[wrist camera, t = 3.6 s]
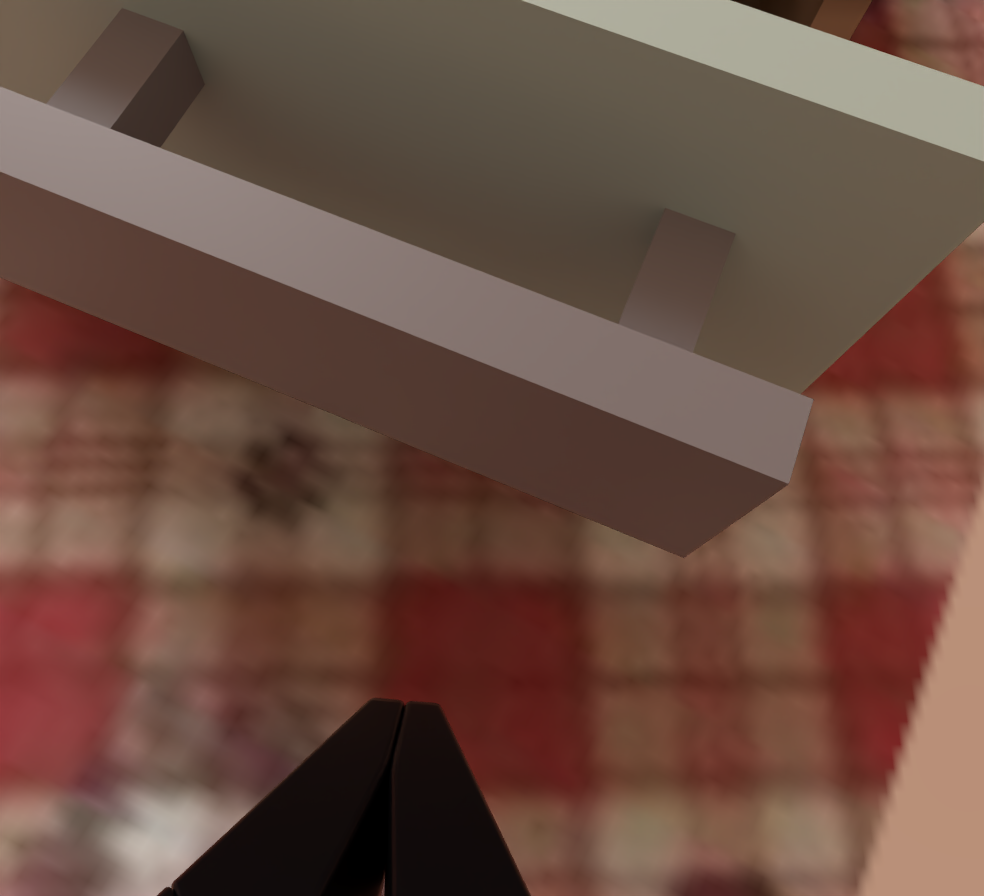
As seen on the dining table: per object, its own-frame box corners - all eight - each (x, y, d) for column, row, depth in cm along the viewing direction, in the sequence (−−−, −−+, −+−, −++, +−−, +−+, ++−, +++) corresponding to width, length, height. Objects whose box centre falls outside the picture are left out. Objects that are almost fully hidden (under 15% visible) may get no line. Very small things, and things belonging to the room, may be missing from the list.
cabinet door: (707, 611, 16) (963, 502, 8) (-211, 229, 18) (-752, -166, 10) (779, 383, 18) (1045, 107, 10) (-63, 60, 20) (-418, -390, 12)
